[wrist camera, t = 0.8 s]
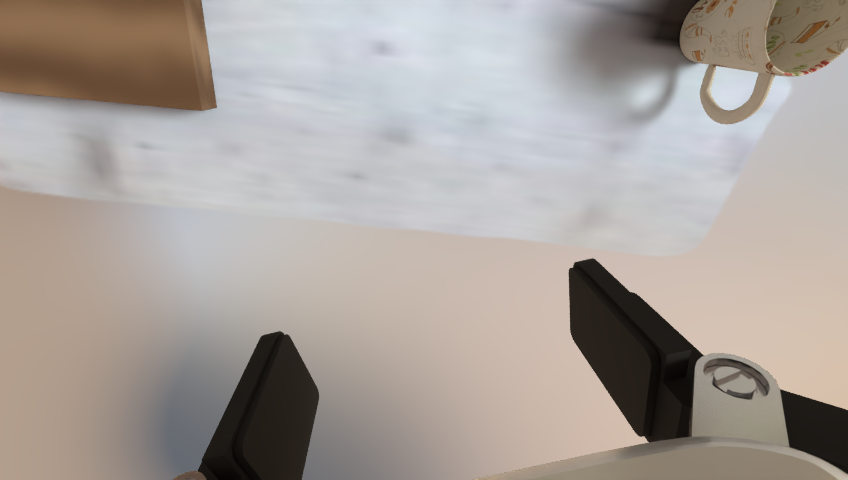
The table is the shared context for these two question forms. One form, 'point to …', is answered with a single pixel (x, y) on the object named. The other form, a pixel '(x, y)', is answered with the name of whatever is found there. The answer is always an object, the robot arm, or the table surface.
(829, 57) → the mug
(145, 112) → the table surface
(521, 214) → the table surface
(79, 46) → the walnut plinth
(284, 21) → the table surface
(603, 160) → the table surface
